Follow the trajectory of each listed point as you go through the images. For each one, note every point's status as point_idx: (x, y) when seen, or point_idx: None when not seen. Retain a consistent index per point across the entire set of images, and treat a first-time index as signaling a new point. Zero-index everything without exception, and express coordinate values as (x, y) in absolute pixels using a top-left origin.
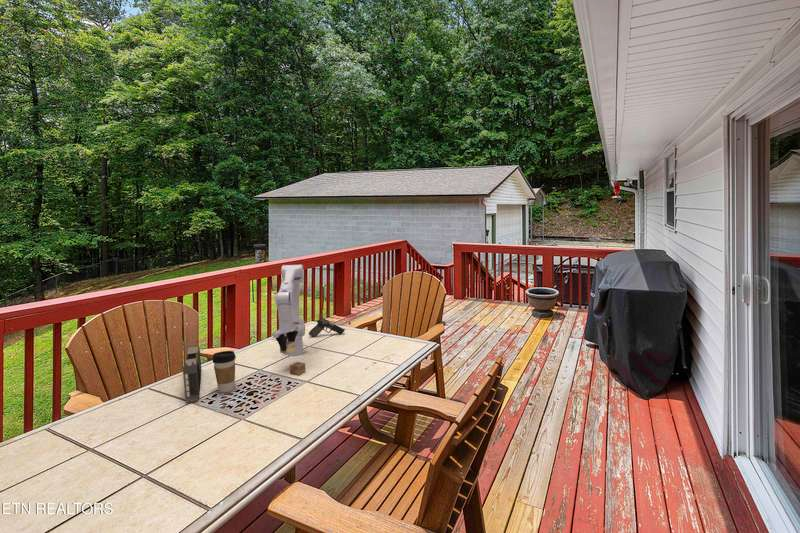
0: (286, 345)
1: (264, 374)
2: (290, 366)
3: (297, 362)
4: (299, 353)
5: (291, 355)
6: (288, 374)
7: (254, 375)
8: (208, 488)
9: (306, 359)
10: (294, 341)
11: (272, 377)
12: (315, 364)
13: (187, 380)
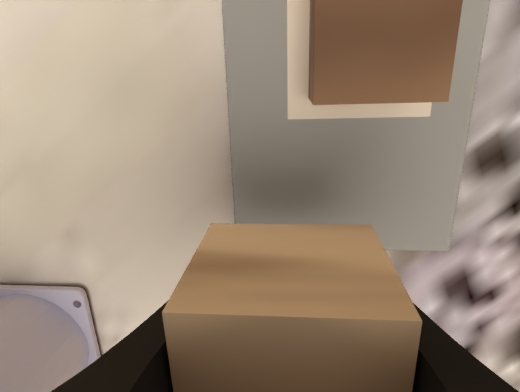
0: (414, 346)
1: (435, 306)
2: (445, 87)
3: (332, 73)
4: (30, 307)
5: (83, 342)
6: (417, 108)
7: (471, 354)
8: None
9: (57, 209)
10: (127, 341)
11: (475, 215)
12: (92, 59)
13: None
